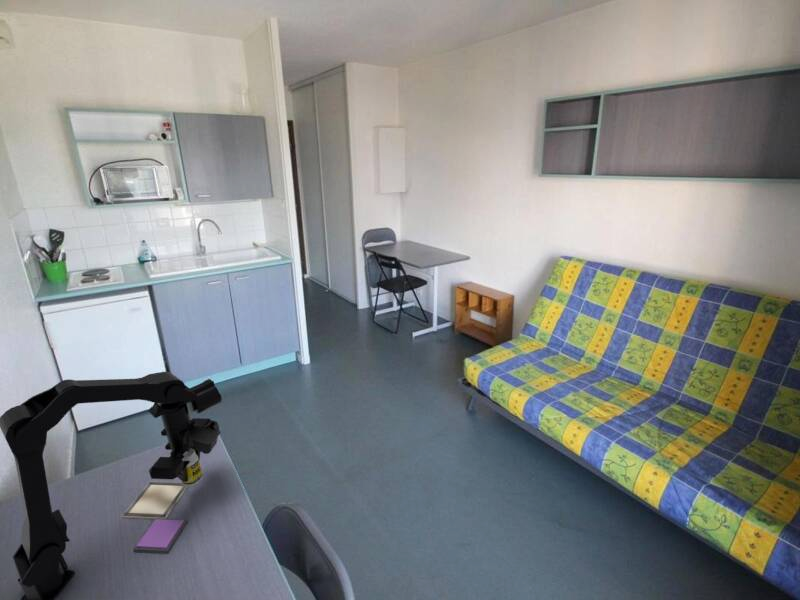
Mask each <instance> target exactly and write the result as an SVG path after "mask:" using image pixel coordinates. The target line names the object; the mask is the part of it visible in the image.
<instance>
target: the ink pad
mask: <svg viewBox="0 0 800 600" xmlns="http://www.w3.org/2000/svg"><path fill="white" fill-rule="evenodd" d="M188 523H189V522H188V519H174V518H173V519H172V518H171V519H169V518H166V519H153V521H152V522H151V524H150V525H149V527H148V528H147V529H146V531H145V532H144V533H143V535H142V536H141V538H140V539H139V540H138V541H137V543H136V544H135V546H134V547H133V549H132V551H133V552H135V553H149V554H150V553H151V554H152V553H153V554H169V553H170V551H171V549H173V547H174V545H175V544H176V542H177V541H178V539H179V538H180V535H181V534H182V533H183V531H184V529H185V527H186V526H187V525H188Z"/></svg>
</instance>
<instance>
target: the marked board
mask: <svg viewBox="0 0 800 600" xmlns="http://www.w3.org/2000/svg"><path fill="white" fill-rule="evenodd" d="M188 488H189V486H185V485H184V484H183V483H182V482H173V481H171V482H166V481H149V482H148V483H147V484H146V486H145V487H144V488H143V490H142V491H141V492H140V493H139V494H138V496H137V497H136V498H135V500H133V502H132V503H131V505H130V506H129V507H128V508H127V509H126V510H125V512H124V513H123V514H122V515H121V518H122V519H141V520H142V519H144V520H155V519H168V516H169V515H170V513H171V512H172V510H173V509H174V508H175V507H176V504H177V503H178V502H179V501H180V499H181V498H182V497H183V495H184V493H185V491H186V490H187V489H188Z"/></svg>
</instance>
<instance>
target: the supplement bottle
mask: <svg viewBox="0 0 800 600" xmlns="http://www.w3.org/2000/svg"><path fill="white" fill-rule="evenodd" d="M184 457H185V458H184V459H185V461H190V462H189V464H188V465H187V466H186V468H187V474H188V481H187V482H183V481H182V480H181V483H183V484H184V485H185V486H188V487H190V486H195V485H196V484H198V483H200V482H201V481H202V479H203V472H202V467H201V463H200V460H199V459H198V456H197V455H196V453H195V450H194V449H192V448H191V450H190V451H189V452H186V453H185V455H184Z"/></svg>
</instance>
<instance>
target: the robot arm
mask: <svg viewBox="0 0 800 600" xmlns="http://www.w3.org/2000/svg"><path fill="white" fill-rule="evenodd" d="M136 400H138V401H147V402H150V403H153V405H152V406H151V407H149V410H148V413H149V414H150V415H151V416H152V417H153V418H155V419H158V418H159V417H161V422H162V425H163V429H162V430H161V431H160V434H161V436H162V437H164V436H166V438H167V443H166V445H164V448H165V450H168V451H169V450H170V452H169V455H170V456H160V457H158V459H157V460H156V461H155V462H154V463H153V465H152V466H151V467H150V468H149V469H148V473H149V476H150V478H151V480H152V479H153V480H174V479H177V478H178V479H179V480H181V482H182V481H183V482H187V481H188V474H187V468H186V466H187V465H188V464H189V462H190V461H185V459H184V458H185V457H184V455H185V453H186V452H189V451H190V450H191V448H192V449H194V450H195V453H196V455H197V456H198V459H199V461H200V459H201V458H200V457H201V453H202V454H205V455H207V454H210V453H211V452H212V450H213V449H214V447H215V446H216V445H217V443H218V439H219V436H220V434H221V431H220V425H219V424H218V423H219V422H217V421H216V420H211V419H210V418H194V417H192V419H191V416H190V412H192V413H193V412H195V413H197V414H201V413H203V412H205V411H207V410H209V409H210V408H213V407H215V406H217V405H219V404H222V400H223V399H222V395H221V393H220V391H219V389H218V388H217V386H216V385H215V382H214V380H212V379H210V378H207V379H206V380H204V381H202V382H201V383H198V384H196V385H194V386H192V387H188V385H186V384H185V382H184V381H182V380H181V379H180V378H179V377H177V376H176V375H174V374H173V373H172V372H169V371H160V372H154V373H149V374H147V375H144V376H142V377H137V378H118V379H117V378H116V379H115V378H114V379H112V378H111V379H87V380H86V379H85V380H82V379H79V380H78V379H77V380H76V379H64V380H61V381H59V382H58V383H56V384H55V385H53V386H52V387H51V388H48V389H46V390H44V391H42V392H40V393H38V394H35V395H33V396H31V397H30V398H28V399H27V400H26V401H24V402H22V403H21V404H20V405H15V406H13V407H11V408H9V409H7V410H6V411H5V412H4V413H3V414H2V415H1V416H0V430H1V432H2V434H3V437H4V439H5V440H6V444H7V445H8V447H9V448H10V451H11V453H12V455H13V456H14V457H13V458H14V461H15V468H16V472H17V478H18V484H19V488H20V494H21V501H22V505H23V510H24V516H25V517H24V522H23V525H22V531H21V541H20V542H21V543H20V545H19V546H18V548H17V549H16V551H15V552H14V553H13V555H12V560H13V563H14V566H15V568H16V571H17V573H18V577H19V578H18V579H17V582H18V583H19V585H20V587H21V589H22V591H23V593H24V595H23V596H21V598H20V600H55V598H56V597H57V596H58V595H59V594H60V592H61V591H62V590H63V589H64V588H65V586H66V585H67V584H68V582H69V581H70V580H71V579H72V578H73V577H74V575H75V574H76V572H75V570H72V569H69V566H68V564H67V562H66V559H65V557H64V555H63V553H65V550H66V548H67V543H68V542H70V541H71V540H70V537H69V536H68V534H67V530H68V524H67V522H66V520H65V518H64V515H62V512H61V510H60V509H56V510H54V511H53V510H52V505H51V499H50V492H49V485H48V480H47V474H46V469H45V468H46V467H45V461H44V451H45V448H46V446H47V437H48V432H49V431H50V430H52V429H53V428H55V426H56V425H58V424H59V423H60V422H61V421H62V419H63V418H64V417H65V416H66V415H67V414H68V413H69V411H70V410H71V409H73V408H74V407H76V406H77V405H78V404H91V403H107V402H108V403H109V402H121V401H122V402H123V401H124V402H125V401H136ZM189 411H190V412H189ZM66 542H67V543H66Z"/></svg>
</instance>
